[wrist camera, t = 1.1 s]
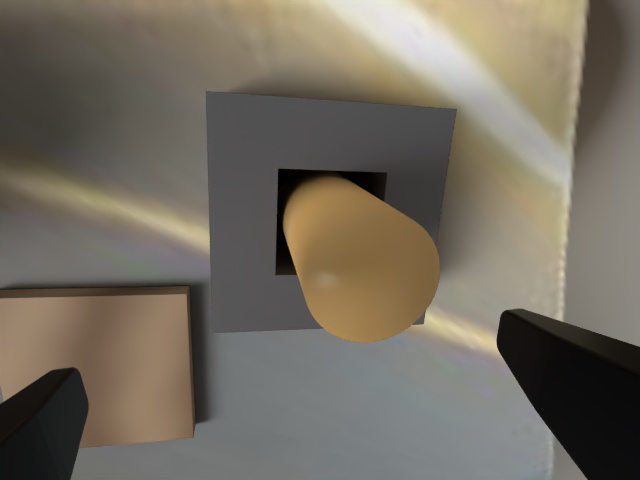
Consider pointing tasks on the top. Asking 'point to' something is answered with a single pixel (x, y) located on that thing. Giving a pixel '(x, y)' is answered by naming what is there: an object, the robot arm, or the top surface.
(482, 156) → the top surface
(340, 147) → the socket block
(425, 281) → the amber plug
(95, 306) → the tan square tile
